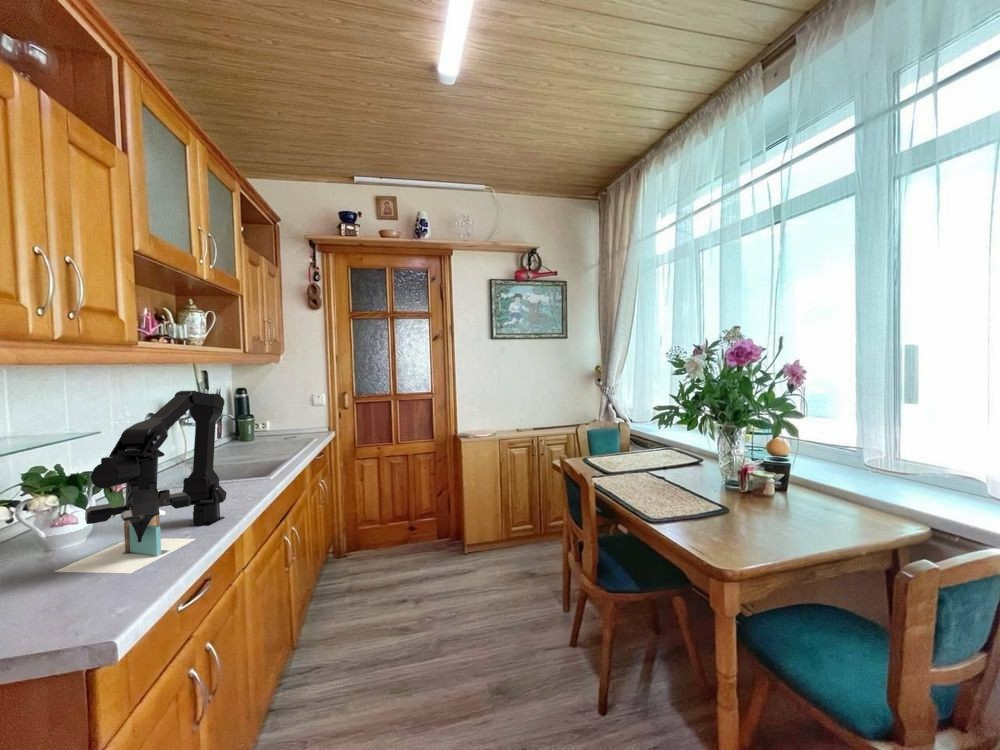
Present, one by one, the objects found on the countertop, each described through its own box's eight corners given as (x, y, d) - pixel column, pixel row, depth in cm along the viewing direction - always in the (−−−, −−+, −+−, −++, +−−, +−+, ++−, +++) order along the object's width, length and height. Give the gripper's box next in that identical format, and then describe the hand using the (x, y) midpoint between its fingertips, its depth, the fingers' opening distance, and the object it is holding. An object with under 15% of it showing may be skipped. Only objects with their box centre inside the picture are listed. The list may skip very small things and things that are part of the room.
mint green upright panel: (130, 551, 100) (129, 524, 100) (134, 550, 101) (133, 523, 101) (156, 555, 98) (155, 527, 98) (161, 553, 99) (160, 526, 99)
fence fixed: (156, 537, 109) (155, 509, 109) (162, 537, 109) (160, 509, 109) (123, 553, 100) (122, 522, 100) (129, 553, 100) (128, 522, 100)
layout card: (131, 539, 110) (131, 537, 110) (196, 540, 108) (195, 538, 108) (54, 573, 92) (54, 571, 92) (130, 575, 90) (130, 572, 90)
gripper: (90, 491, 85) (87, 564, 84) (197, 477, 99) (194, 539, 99) (86, 482, 92) (83, 550, 92) (186, 470, 106) (184, 528, 106)
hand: (139, 541), depth 97 cm, fingers closed
